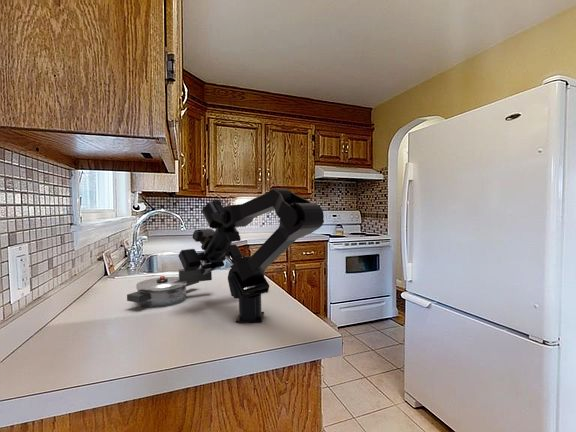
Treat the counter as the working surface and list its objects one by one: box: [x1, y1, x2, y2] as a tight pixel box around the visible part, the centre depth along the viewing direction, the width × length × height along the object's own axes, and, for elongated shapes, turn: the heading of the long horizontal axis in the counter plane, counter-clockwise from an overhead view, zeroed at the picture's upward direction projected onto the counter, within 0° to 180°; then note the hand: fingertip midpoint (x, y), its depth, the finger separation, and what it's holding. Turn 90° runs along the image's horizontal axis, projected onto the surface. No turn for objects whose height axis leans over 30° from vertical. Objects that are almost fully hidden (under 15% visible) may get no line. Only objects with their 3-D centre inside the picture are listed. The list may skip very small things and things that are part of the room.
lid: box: [135, 266, 213, 291], centre depth 97 cm, size 22×15×4 cm, turn 115°
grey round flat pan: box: [126, 281, 200, 309], centre depth 97 cm, size 25×14×4 cm, turn 155°
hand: (202, 273), depth 95 cm, fingers closed
